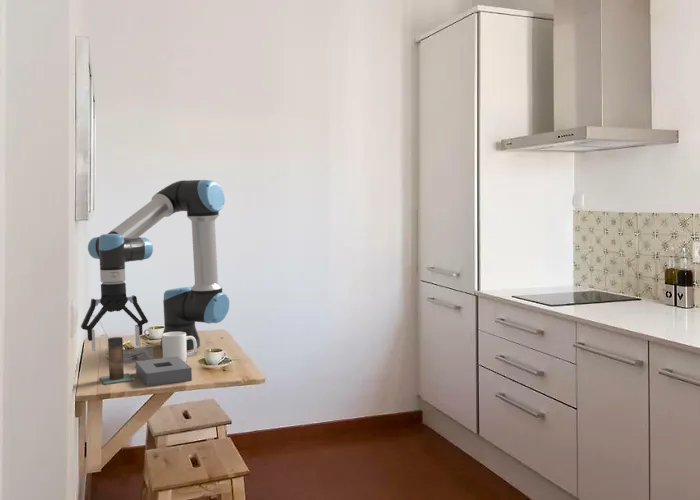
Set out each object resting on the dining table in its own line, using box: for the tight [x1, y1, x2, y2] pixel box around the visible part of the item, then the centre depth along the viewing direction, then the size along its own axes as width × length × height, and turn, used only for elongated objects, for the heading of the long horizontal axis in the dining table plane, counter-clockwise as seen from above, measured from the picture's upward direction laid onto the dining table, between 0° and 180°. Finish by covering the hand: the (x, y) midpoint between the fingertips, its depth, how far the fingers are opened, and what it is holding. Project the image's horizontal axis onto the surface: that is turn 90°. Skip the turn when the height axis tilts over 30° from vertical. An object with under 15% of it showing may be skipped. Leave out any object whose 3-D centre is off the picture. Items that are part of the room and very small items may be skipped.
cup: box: [161, 332, 198, 363], centre depth 244 cm, size 8×12×10 cm
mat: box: [99, 372, 135, 386], centre depth 220 cm, size 9×9×1 cm
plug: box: [107, 336, 125, 380], centre depth 220 cm, size 4×4×13 cm
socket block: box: [135, 356, 193, 387], centre depth 223 cm, size 18×14×4 cm
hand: (116, 347), depth 220 cm, fingers open, 13 cm apart
